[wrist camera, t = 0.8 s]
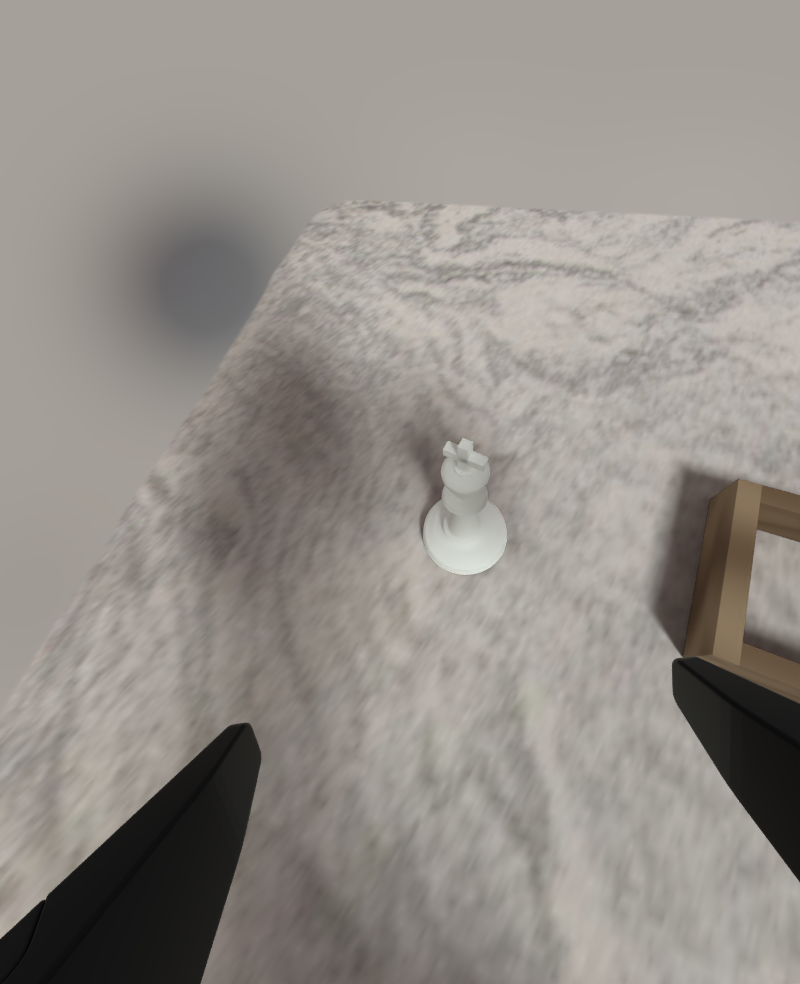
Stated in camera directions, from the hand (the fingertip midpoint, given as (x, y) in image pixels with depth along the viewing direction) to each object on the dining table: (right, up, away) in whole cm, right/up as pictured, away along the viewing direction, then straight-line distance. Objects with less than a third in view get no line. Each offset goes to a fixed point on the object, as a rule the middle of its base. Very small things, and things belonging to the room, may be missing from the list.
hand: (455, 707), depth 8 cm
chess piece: (+3, +2, +15) cm, 15 cm away
